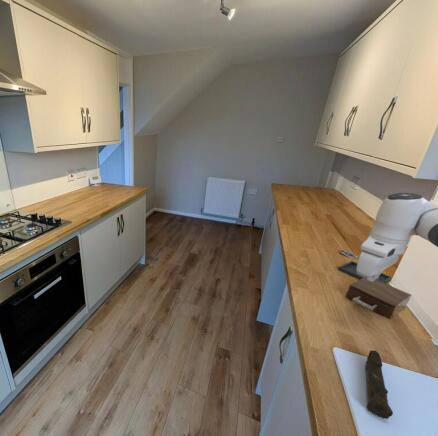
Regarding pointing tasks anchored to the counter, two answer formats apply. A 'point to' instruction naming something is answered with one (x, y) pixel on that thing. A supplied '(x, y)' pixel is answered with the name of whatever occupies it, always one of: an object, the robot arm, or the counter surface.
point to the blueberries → (348, 254)
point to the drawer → (369, 302)
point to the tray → (351, 270)
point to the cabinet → (383, 294)
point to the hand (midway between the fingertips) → (371, 279)
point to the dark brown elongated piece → (376, 387)
